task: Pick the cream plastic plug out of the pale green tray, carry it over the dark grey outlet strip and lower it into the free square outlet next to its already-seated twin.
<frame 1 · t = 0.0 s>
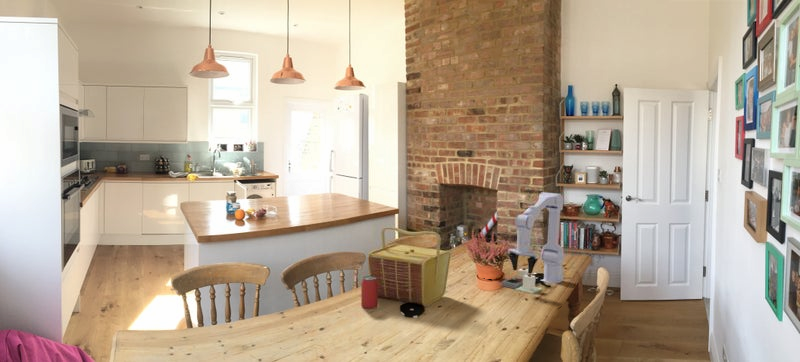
hand: (522, 271, 233), 10 cm above the table, tool pointing down, fingers open, 7 cm apart
beer can: (369, 307, 214), on the table
twin plug: (523, 282, 252), resting in outlet strip
picnic basket: (409, 297, 227), on the table
outlet strip: (518, 284, 249), on the table
tray: (528, 290, 239), on the table
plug: (528, 289, 239), resting on tray
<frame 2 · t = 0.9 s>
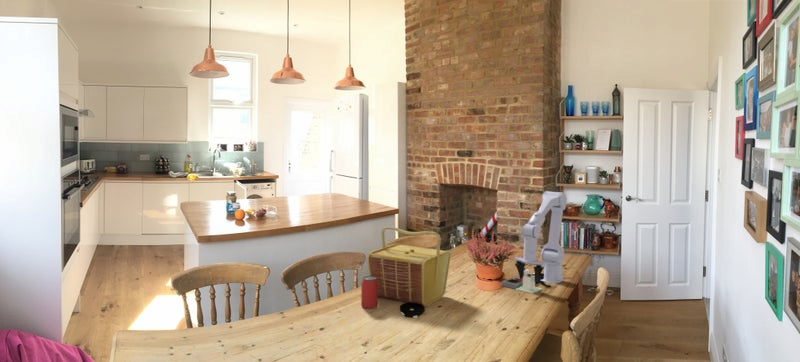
hand: (528, 279, 238), 5 cm above the table, tool pointing down, fingers open, 7 cm apart
nothing on the table moved.
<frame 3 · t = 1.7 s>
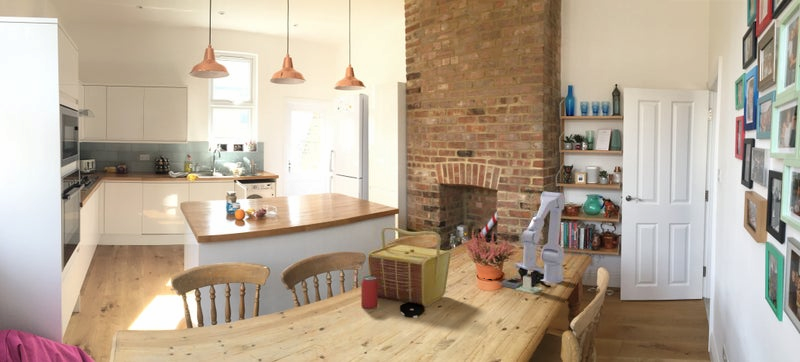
hand: (528, 285, 239), 2 cm above the table, tool pointing down, fingers closed on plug, 4 cm apart
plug: (528, 289, 239), resting on tray, touching gripper
everything else where it was.
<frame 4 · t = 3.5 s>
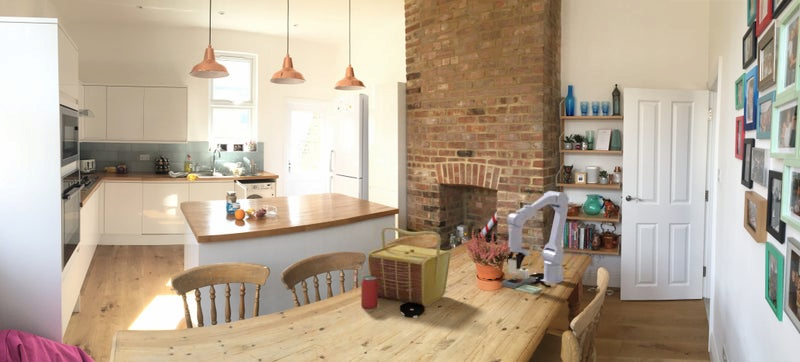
hand: (514, 267, 244), 9 cm above the table, tool pointing down, fingers closed on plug, 4 cm apart
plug: (513, 272, 245), point 7 cm above the table, touching gripper
everything else where it was.
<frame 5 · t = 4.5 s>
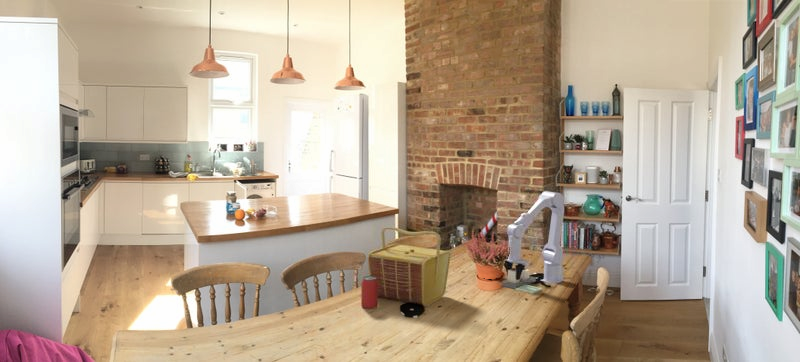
hand: (513, 278, 245), 4 cm above the table, tool pointing down, fingers closed on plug, 4 cm apart
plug: (513, 283, 245), point 2 cm above the table, touching gripper
everything else where it was.
when the fingers open (3 cm above the table, at t = 5.1 s): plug stays where it is, resting in outlet strip.
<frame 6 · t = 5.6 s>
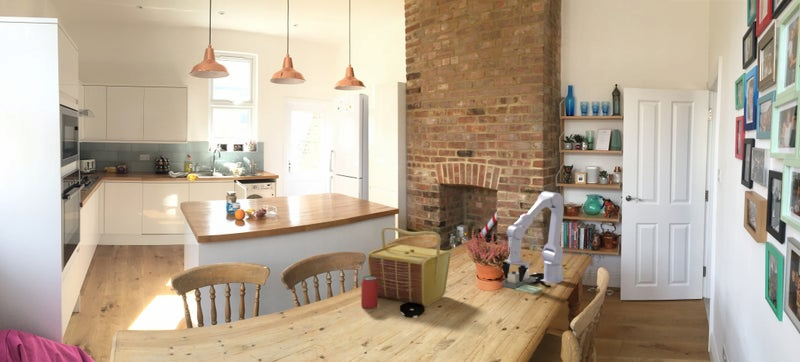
hand: (513, 279, 245), 3 cm above the table, tool pointing down, fingers open, 7 cm apart
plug: (513, 286, 245), resting in outlet strip
everything else where it was.
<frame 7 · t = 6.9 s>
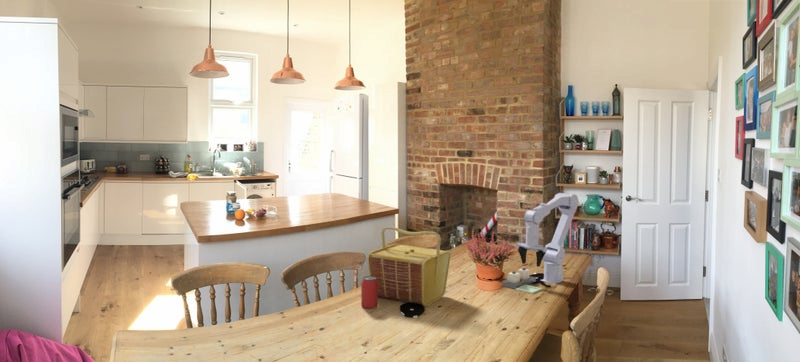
hand: (531, 264, 245), 10 cm above the table, tool pointing down, fingers open, 7 cm apart
nothing on the table moved.
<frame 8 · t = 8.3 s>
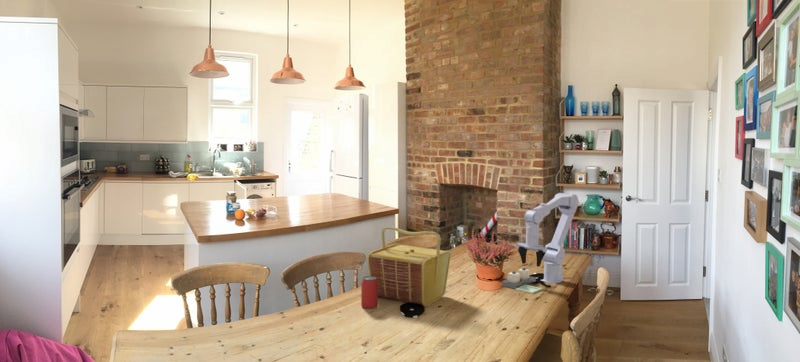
hand: (531, 264, 245), 10 cm above the table, tool pointing down, fingers open, 7 cm apart
nothing on the table moved.
at the end: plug 0.1 cm from the target spot on the outlet strip, point 0.0 cm above the outlet strip's base; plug tilted 0°; the gripper is holding nothing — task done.
